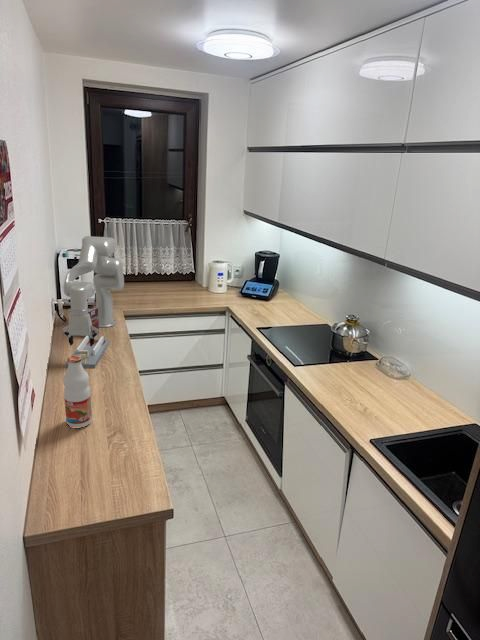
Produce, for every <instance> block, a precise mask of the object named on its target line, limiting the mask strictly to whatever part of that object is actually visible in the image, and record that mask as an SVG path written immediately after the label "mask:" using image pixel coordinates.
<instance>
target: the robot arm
mask: <svg viewBox="0 0 480 640" xmlns="http://www.w3.org/2000/svg"><path fill="white" fill-rule="evenodd" d="M116 249H117V242H116V240H115V238H113V237H110V236H109V237H108V236H90V235H85V236H84V237H82V240H81V248H80V253H79V259H78V263H76V265H74V266H72V268H71V269H69V271H68V272H67V273H66V275H65V277H64V279H65V280H64V284H63V292H64V295H65V296H66V297H69V300H70V301H69V302H70V308H68V309H67V311H68V313H70V314H69V316H68V325H66V326H64V327H62V328H61V331H62V332H63V333H64V335H65V336H66V337H67V338H68V343H69V346H73V344H74V336H80V337H81V336H83V337H84V336H88V335H89V337H90V338H89V339H90V346H92V345H93V344H94V339H95V337H96V336H98V335H99V334H98V332H99V333H100V328H110V327H113V326H115V325H116V324H117V321H116V320H115V319H114V303H113V302H114V301H113V299H114V298H113V295H112V292H111V291H120V290H123V289H124V287H125V278H124V277H125V276H124V269H123V268H124V267H123V263H122V261H121V259H120V258H113V257H111V255H113V254H114V253H115V251H116ZM93 271H94V273H96V274H95V275H94V276H93V279H92V281H93V283H92V282H89V281H77V280H76V279H77V278H78V277H80V276H82V275H86V274H88V273H91V272H93ZM75 280H76V281H75ZM94 295H95V304H96V305H95V308H98V320H99V329H98V328H96V327H94V326H92V322H91V318H90V314H89V313H88V309H89V308H88V307H89V306H88V299H89V298H91V297H93V296H94ZM92 330H94V331H95V333H94V334H93V333H92ZM97 334H98V335H97Z"/></svg>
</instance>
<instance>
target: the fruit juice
mask: <svg viewBox="0 0 480 640" xmlns="http://www.w3.org/2000/svg"><path fill="white" fill-rule="evenodd" d="M71 355H72V354H71ZM71 355H70V356H68V357H67V361H68V363H69V365H68V367H67V369H66V372H65V373H64V375H63V379H62V381H63V382H62V383H63V385H64V389H63V390H64V391H63V397H64V409H65V420H66V421H65V422H66V425H67V424H68V425H69V426H71V427H83V426H86V425H88V424H90V425H91V423H92V422H91V421H93V415H92V413H93V412H92V411H93V410H92V401H91V400H92V398H91V397H92V396H91V389H90V385H89V382H90V377H89V374H88V372H87V371H86V370H85V368H83V367H82V364H81V362H82V358H81V356H79V355H72V356H71ZM67 361H66V362H67ZM68 425H67V426H68ZM69 426H68V427H69ZM88 426H89V425H88Z"/></svg>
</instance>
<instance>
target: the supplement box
mask: <svg viewBox="0 0 480 640" xmlns="http://www.w3.org/2000/svg"><path fill="white" fill-rule="evenodd" d="M88 313H89V314H90V318H91V322H92V326H94V327H96V328H98V329H99V330H100V327H99V320H98V308H96V306H94V307H93V306H90V307H89V308H88ZM92 333H93V334H94V333H95V331H94V330H92ZM99 334H100V331H99V332H98V334H97V335H96V336H98V335H99ZM88 336H89V335H88ZM83 337H84V338H85V337H86V336H83ZM89 339H90V337H89Z"/></svg>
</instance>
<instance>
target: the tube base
mask: <svg viewBox="0 0 480 640" xmlns="http://www.w3.org/2000/svg"><path fill="white" fill-rule="evenodd" d="M110 343H111V340H110V339H105V338H104V336H103V335H102V336H100V338H94V344H93V345H92V346H90V338H89V336H86V337H84V338H83V339H82V341H81V342H80V343H79V344H78V346H77V347H76V348H75V350H73V353H72V354H71V355H70V356H72V355H76V353H77V352H78V351H79V350H88V353H89V359H88V361H87V362H86V364H82V367H83V369H96V367H97V366H98V364H99V362H100V360H101V359H102V357H103V355H104V353H106V350H107V348H108V347H109V345H110ZM68 365H69V363H68V361H66V362H65V368H68Z"/></svg>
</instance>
